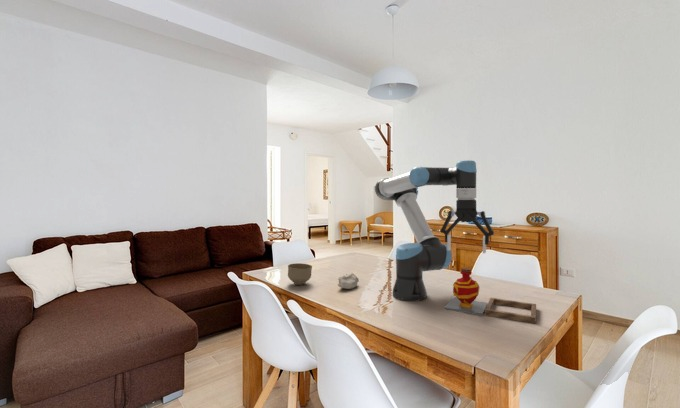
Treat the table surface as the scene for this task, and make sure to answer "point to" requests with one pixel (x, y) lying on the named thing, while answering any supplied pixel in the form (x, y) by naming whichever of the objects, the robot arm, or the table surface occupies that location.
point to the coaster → (475, 309)
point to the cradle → (507, 314)
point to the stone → (348, 281)
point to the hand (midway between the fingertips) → (466, 251)
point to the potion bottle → (466, 288)
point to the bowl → (299, 273)
